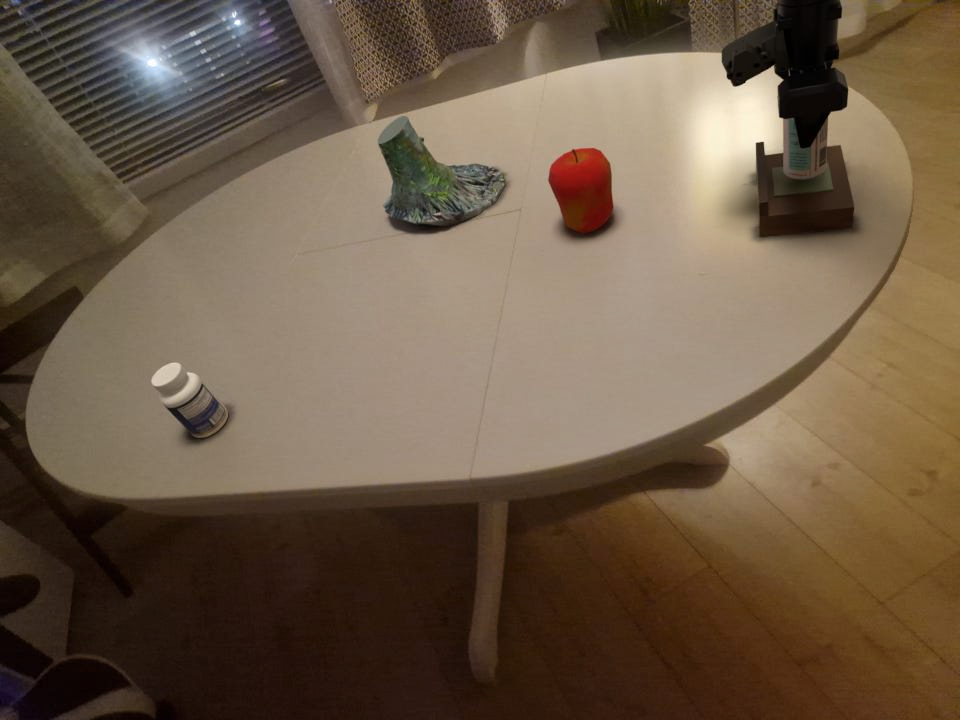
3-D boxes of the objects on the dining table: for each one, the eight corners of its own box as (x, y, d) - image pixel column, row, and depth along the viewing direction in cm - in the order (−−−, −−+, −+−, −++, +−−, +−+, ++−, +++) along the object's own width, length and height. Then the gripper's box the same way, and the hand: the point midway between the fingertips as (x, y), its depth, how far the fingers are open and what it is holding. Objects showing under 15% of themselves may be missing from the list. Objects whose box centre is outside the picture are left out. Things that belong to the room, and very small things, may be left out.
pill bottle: (189, 423, 88) (143, 374, 81) (224, 401, 89) (182, 351, 82) (195, 446, 84) (148, 397, 77) (233, 423, 85) (189, 372, 78)
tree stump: (519, 206, 102) (459, 115, 90) (415, 271, 107) (346, 192, 95) (496, 154, 115) (441, 68, 103) (405, 213, 120) (342, 138, 108)
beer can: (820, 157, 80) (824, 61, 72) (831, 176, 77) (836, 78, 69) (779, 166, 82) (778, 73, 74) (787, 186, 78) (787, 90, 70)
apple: (618, 236, 88) (604, 159, 80) (558, 245, 91) (538, 170, 83) (621, 201, 94) (608, 126, 86) (564, 210, 97) (546, 138, 89)
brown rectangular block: (839, 165, 85) (841, 130, 82) (852, 228, 76) (856, 191, 72) (756, 175, 89) (755, 142, 85) (759, 237, 80) (759, 202, 76)
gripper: (724, -16, 75) (730, 111, 85) (723, 49, 63) (730, 188, 73) (832, -42, 71) (825, 95, 81) (854, 23, 59) (842, 174, 69)
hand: (803, 136), depth 76 cm, fingers closed on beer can, 5 cm apart
